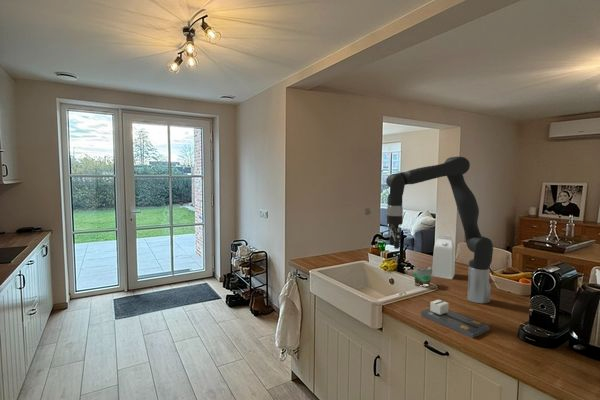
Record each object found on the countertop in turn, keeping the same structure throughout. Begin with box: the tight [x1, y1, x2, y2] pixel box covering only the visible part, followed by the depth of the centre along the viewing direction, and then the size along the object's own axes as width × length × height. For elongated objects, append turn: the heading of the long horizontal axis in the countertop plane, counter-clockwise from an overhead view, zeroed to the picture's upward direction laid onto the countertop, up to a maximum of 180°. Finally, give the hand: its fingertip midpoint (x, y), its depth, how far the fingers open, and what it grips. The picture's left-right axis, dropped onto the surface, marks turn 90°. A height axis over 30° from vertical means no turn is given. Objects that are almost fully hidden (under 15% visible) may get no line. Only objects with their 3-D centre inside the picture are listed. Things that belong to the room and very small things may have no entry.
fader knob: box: [429, 298, 450, 315], centre depth 145 cm, size 5×6×4 cm
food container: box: [413, 266, 432, 287], centre depth 185 cm, size 12×6×10 cm, turn 117°
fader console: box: [420, 307, 490, 339], centre depth 139 cm, size 24×12×2 cm, turn 32°
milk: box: [431, 234, 456, 280], centre depth 204 cm, size 12×12×26 cm
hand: (394, 246), depth 160 cm, fingers open, 8 cm apart
